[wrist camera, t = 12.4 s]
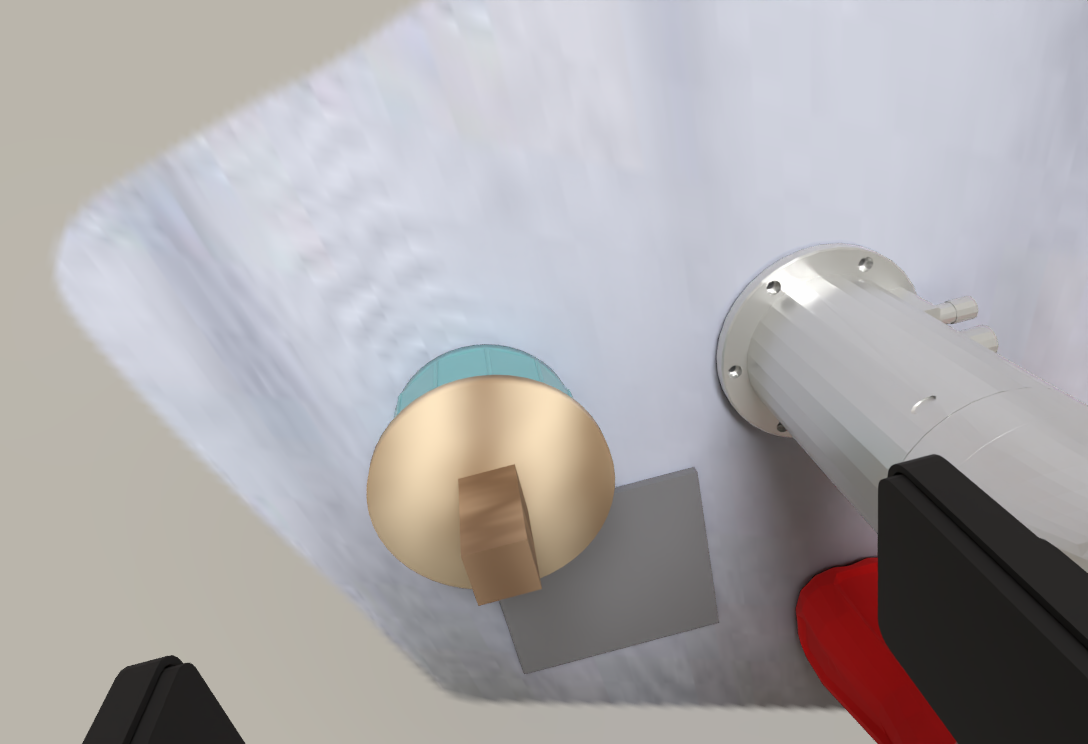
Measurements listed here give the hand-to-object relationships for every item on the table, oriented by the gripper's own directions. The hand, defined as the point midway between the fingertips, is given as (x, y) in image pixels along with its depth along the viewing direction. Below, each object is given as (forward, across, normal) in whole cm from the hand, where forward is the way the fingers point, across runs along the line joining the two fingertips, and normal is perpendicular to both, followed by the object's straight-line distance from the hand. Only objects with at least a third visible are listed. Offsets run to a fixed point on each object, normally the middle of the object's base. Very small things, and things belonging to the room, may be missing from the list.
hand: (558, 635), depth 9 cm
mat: (+30, -2, +28) cm, 41 cm away
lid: (+24, +3, +14) cm, 28 cm away
